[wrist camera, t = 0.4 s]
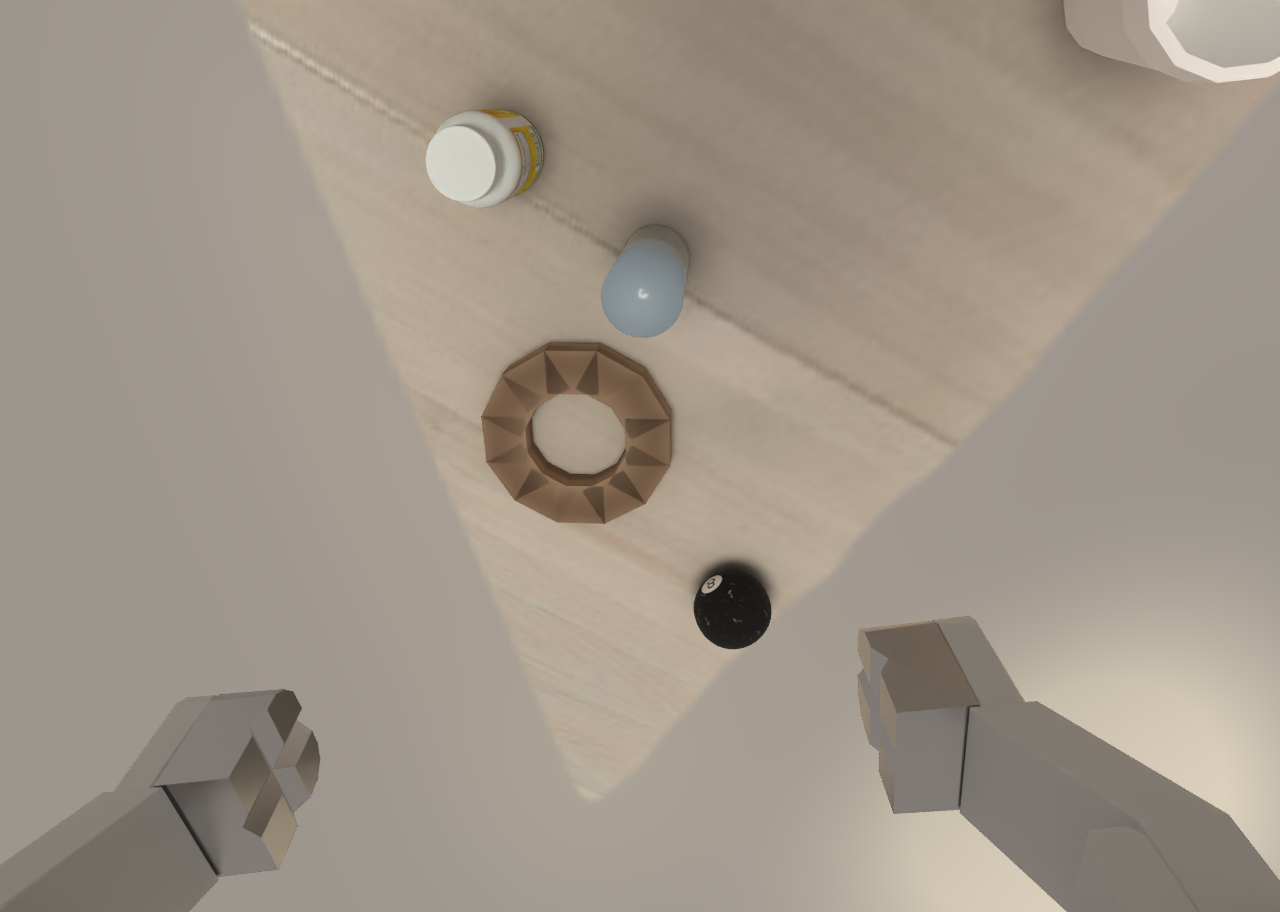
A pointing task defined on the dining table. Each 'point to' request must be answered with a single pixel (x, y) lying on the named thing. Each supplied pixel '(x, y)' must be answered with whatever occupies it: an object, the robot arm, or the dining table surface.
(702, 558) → the dining table surface
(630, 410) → the walnut ring
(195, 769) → the robot arm
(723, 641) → the billiard ball
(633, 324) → the slate ceramic shaker
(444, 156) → the supplement bottle
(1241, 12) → the foam cup
